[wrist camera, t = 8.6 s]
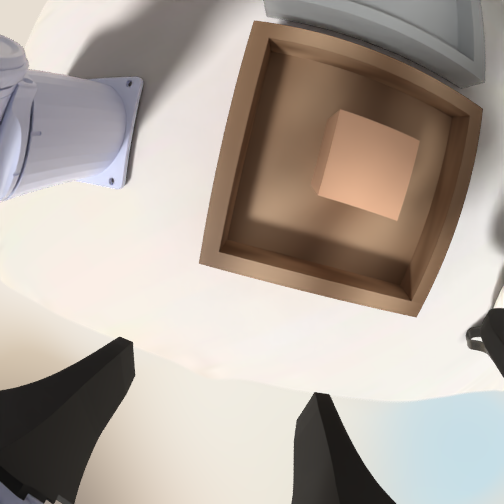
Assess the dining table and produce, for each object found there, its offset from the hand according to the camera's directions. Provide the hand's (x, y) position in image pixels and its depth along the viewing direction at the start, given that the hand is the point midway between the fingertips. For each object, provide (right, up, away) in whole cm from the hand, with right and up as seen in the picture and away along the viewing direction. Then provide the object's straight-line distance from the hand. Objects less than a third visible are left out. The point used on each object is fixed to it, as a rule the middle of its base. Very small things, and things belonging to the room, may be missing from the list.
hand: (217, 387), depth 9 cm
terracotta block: (+7, +10, +5) cm, 13 cm away
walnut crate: (+7, +10, +6) cm, 14 cm away
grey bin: (+11, +25, 0) cm, 27 cm away
